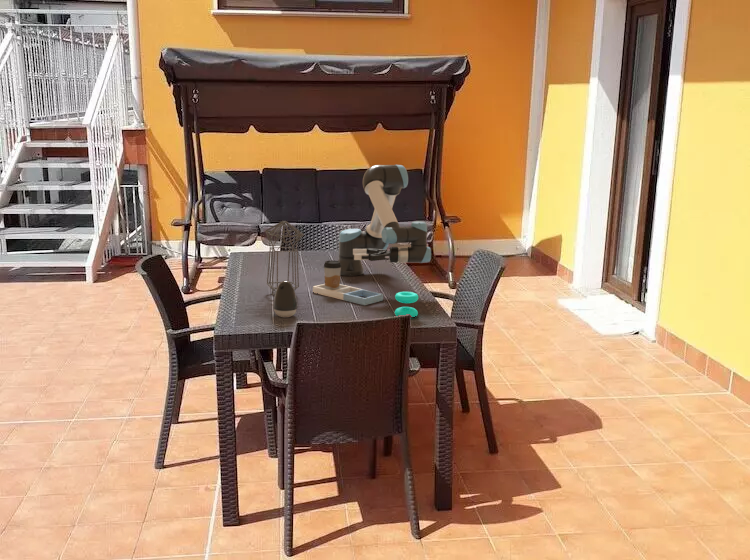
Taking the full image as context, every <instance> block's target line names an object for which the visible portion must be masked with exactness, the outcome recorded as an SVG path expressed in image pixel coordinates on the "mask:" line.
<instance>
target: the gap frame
mask: <svg viewBox="0 0 750 560" xmlns="http://www.w3.org/2000/svg"><path fill="white" fill-rule="evenodd" d="M313 292H314V294H317V293H318V294H317V295H322V296H326V297H329V298H333V299H334V298H335V299H338V300H341V301H342V300H343V301H346V302H349V303H354V304H357V305H362V306H367V305H370V304H375V303H378V302H382V301H384V294H383V293H380V292H376V291H372V290H367V289H363V288H360V287H359V288H358V287H355V286H350V285H345V284H342V283H340V285H339V289H336V290H329V289H325V283H323V284H318V285H313V286H312V293H313Z"/></svg>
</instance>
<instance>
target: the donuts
mask: <svg viewBox="0 0 750 560" xmlns="http://www.w3.org/2000/svg"><path fill="white" fill-rule="evenodd" d="M419 297H420V296H419V295H418V294H417V293H416V292H413V291H399V292H396V293H395V295H394V298H395V300H396V301H397V302H399V303H402V304H414V303H416V302H417V301H418V300H419ZM394 314H395V315H394V316H396V317H397V316H398V315H406V314H410V315H411V316H412V317H415V316H416V317H417V316H418V314H419V312H418V310H417V309H416V308H415V307H411V306H401V307H396V309H395V310H394ZM416 317H415V318H416Z"/></svg>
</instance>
